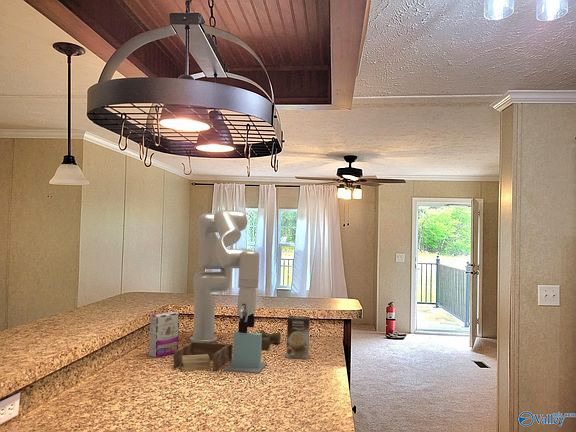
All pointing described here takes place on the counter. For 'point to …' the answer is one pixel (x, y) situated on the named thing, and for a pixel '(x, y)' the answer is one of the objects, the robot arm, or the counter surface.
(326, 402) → the counter surface
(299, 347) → the coffee box
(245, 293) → the robot arm
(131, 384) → the counter surface
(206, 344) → the frame
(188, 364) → the offcut stack
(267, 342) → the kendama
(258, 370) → the slate mat
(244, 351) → the pale teal block
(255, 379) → the counter surface
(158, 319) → the candy bar box
